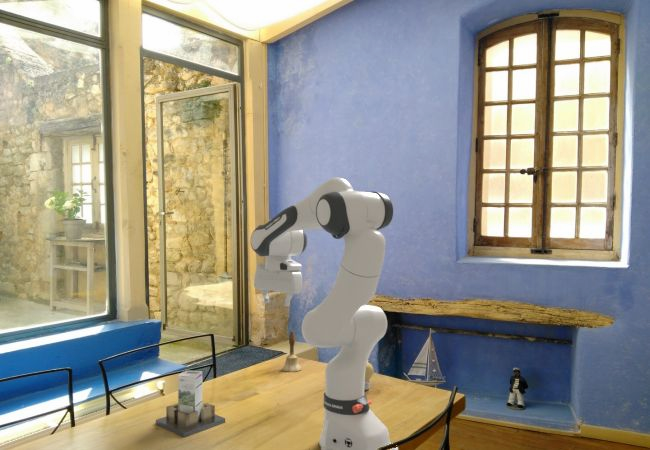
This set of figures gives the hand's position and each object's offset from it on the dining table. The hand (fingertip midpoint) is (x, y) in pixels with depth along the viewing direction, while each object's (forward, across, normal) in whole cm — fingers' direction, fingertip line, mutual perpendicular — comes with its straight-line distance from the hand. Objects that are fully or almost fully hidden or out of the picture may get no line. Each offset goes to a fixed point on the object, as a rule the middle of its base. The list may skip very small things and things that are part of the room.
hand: (276, 304), depth 182 cm
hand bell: (+32, -23, +34) cm, 52 cm away
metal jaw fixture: (+35, -7, -29) cm, 46 cm away
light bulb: (+32, +15, +33) cm, 49 cm away
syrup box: (+34, -7, -29) cm, 45 cm away
